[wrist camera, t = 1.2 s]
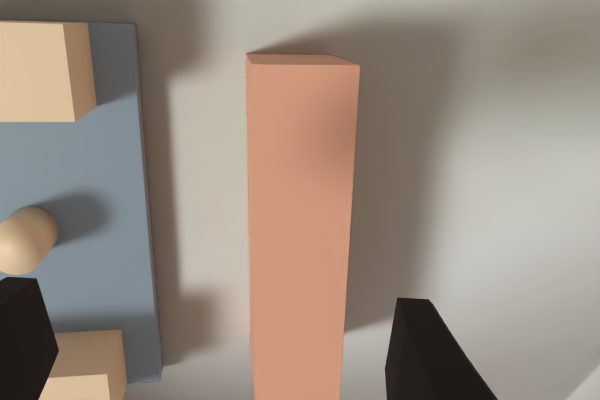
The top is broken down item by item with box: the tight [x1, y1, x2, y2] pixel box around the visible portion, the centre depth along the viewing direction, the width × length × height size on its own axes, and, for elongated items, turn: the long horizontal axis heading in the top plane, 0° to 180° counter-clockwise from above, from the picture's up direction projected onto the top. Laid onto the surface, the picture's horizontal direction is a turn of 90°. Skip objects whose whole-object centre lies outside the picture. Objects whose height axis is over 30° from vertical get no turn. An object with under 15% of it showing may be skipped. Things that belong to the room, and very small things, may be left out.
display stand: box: [0, 20, 163, 400], centre depth 19 cm, size 16×9×4 cm, turn 178°
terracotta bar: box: [246, 54, 360, 400], centre depth 21 cm, size 14×4×5 cm, turn 179°
